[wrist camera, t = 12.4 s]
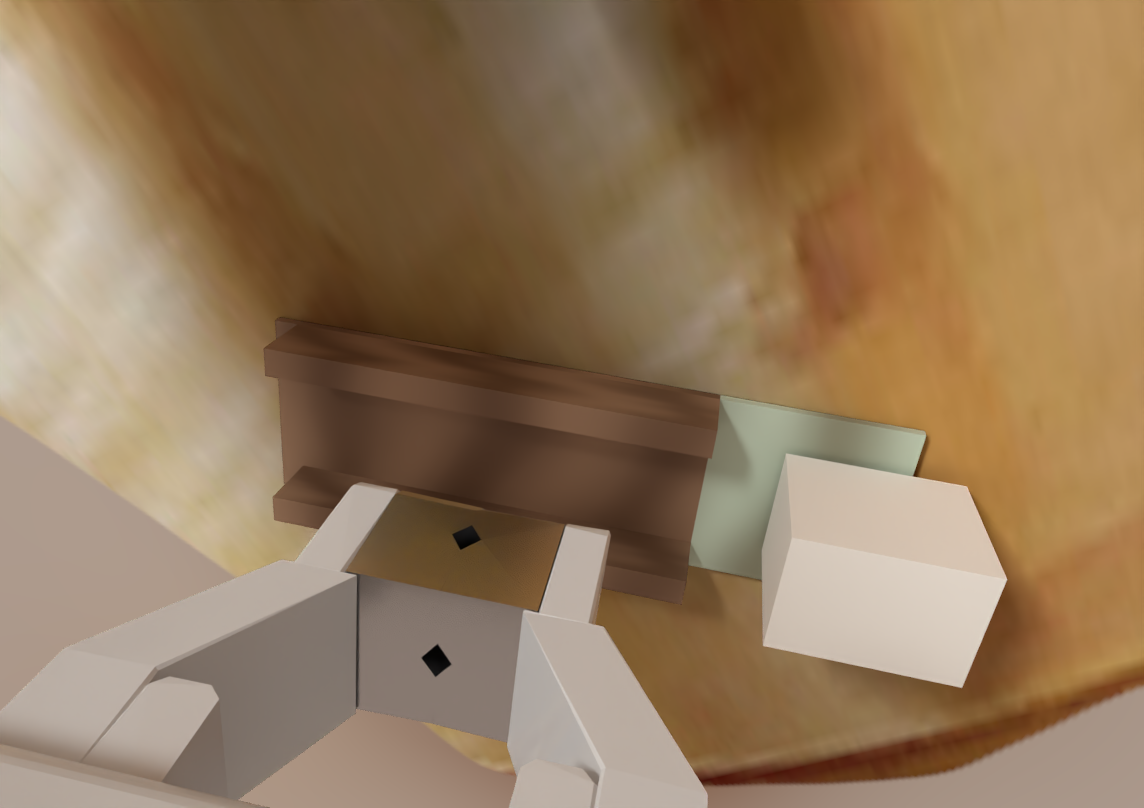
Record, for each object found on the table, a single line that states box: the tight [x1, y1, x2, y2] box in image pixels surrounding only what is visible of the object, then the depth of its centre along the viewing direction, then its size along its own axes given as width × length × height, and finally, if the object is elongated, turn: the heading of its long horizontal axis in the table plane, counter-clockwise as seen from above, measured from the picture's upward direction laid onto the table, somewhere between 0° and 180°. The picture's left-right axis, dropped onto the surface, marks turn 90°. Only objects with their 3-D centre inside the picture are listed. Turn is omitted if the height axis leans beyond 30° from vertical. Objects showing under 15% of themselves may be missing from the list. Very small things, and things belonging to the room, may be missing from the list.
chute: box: [264, 317, 926, 605], centre depth 36 cm, size 27×8×3 cm, turn 84°
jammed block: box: [762, 453, 1007, 688], centre depth 32 cm, size 7×5×6 cm
